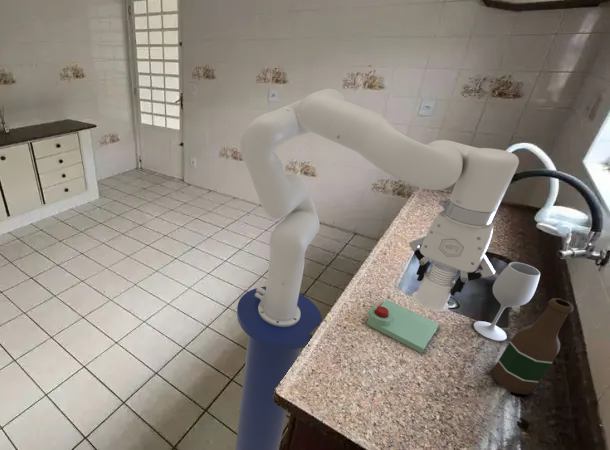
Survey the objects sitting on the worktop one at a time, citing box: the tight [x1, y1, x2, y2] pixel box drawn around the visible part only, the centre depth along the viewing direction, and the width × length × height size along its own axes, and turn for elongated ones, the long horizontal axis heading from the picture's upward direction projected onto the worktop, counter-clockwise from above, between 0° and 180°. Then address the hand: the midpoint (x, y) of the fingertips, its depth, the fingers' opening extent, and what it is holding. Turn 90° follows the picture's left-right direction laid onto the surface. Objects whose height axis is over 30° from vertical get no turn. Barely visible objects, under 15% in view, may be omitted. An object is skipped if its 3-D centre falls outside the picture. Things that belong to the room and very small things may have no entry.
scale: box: [366, 298, 440, 354], centre depth 97 cm, size 15×13×4 cm
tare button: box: [375, 305, 389, 318], centre depth 97 cm, size 3×3×2 cm
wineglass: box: [473, 261, 541, 342], centre depth 91 cm, size 8×8×21 cm
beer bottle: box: [491, 297, 575, 395], centre depth 77 cm, size 8×8×24 cm
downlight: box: [412, 260, 459, 313], centre depth 77 cm, size 8×7×10 cm
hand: (437, 284), depth 77 cm, fingers closed on downlight, 5 cm apart
